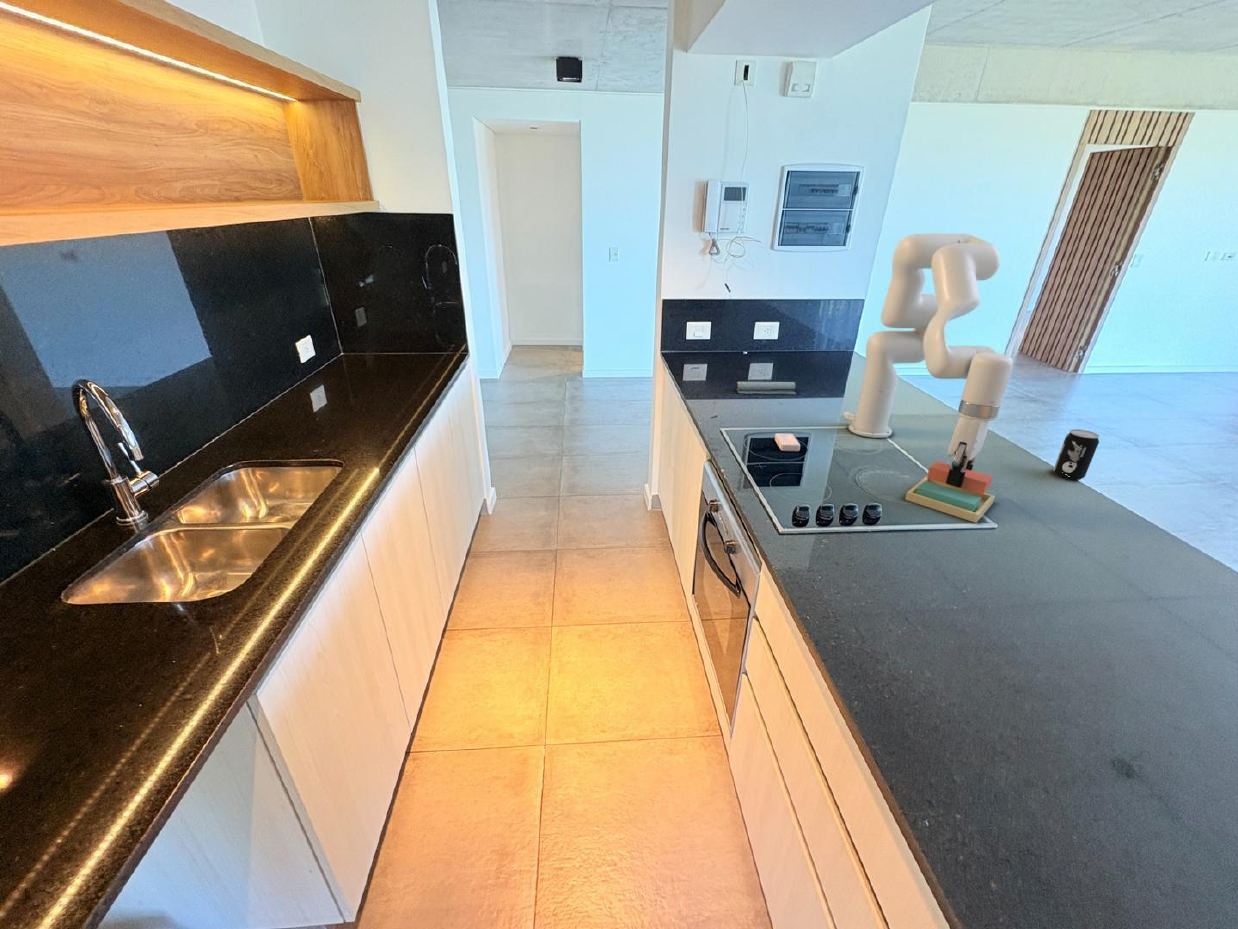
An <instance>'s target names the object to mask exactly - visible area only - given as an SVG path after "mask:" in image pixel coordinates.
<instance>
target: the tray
mask: <svg viewBox="0 0 1238 929" xmlns="http://www.w3.org/2000/svg"><path fill="white" fill-rule="evenodd" d="M924 481H928V482H931V483H934V484H938V485H941V486H944V487H948V488H951V489H954V490H958V491H961V492H964V493H968V494H971V495H975V496H978V497H981V499H980V502H979V505H978V508H977V509H976V511H975V512H972V511H969V510H966V509H962V508H959V507H956V506H953V505H950V504H947V503H944V502H940V501H937V500H934V499H931V498H928V497H925V496H922V495H918V494H916V491H917V487H918V486H919V485H921V484H922V483H923V482H924ZM995 497H996V496H995V495H994V494H990V493H987V492H985V493H984V494H980V493H977V492H973V491H970V490H966V489H963V488H958V487H955V486H951V485H948V484H946V483H942V482H939V481H935V480H932V479H929V478H927V475H926V476H924V478H922V479H921V480H920V481H918V482H917V483H916V484H915V485H914V486H913V487H912V488H911V489H909V490H908V491H907V492H906V494H905V499H904V500H906V501H908V502H912V503H914V504H918V505H921V506H924V507H927V508H930V509H933V510H935V511H939V512H942V513H945V514H948V515H950V516H953V517H957V518H959V519H963V520H966V521H969V522H972V523H975V524H976V523H978V521H979V520H980V519H981V518H982V517H983V515H985V513H986V512H987V511H988V510H989V508H990V507H991V506H992V505H993V503H994V501H995Z"/></svg>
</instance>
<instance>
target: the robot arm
mask: <svg viewBox="0 0 1238 929" xmlns="http://www.w3.org/2000/svg"><path fill="white" fill-rule="evenodd" d="M1000 263H1001V254H1000V252H999V250H998V248H997V247H996V245H994V244H992V243H991V242H989V241H987V240H985V239H981V238H979V237H977V236H974V235H972V234H968V233H935V232H934V233H914V234H910V235H906V236H904V237H903V238H901V239H900V240H899V242H898V243H897V244H896V246H895V249H894V251H893V254H892V264H891V267H892V268H891V270H892V272H891V277H890V282H889V286H888V288H887V292H886V296H885V299H884V302H883V306H882V310H881V314H880V321H881V324H882V325H883V326H885V327H887V328H890V329H912V330H880V331H877V332H874V333H873V334H871V335H870V336H869V337H868V339H867V341H866V344H865V345H866V346H865V366H864V367H865V368H864V374H863V380H862V383H861V384H862V385H861V388H860V394H859V400H858V406H857V410H856V413H852V412H847V411H845V412H844V413H843V420H844V421H849V422H850V423H849V424H848V430H849V431H850V432H851V433H853V434H855V435H858V436H861V437H866V438H871V439H872V438H873V439H884V438H887V437H888V438H889V437H891V435H892V433H893V429H892V428H891V427H889V422H890V417H891V412H892V409H893V408H892V407H893V403H894V401H895V400H894V399H895V395H896V390H897V386H898V380H899V377H898V373H897V371H896V370H895V368H894V365H896V364H918V363H922V362H924V361H925V366H926V369H927V371H928V373H929V374H930V376H932V377H933V378H935V379H940V380H955V379H956V380H957V379H958V380H965V384H964V387H963V390H962V394H961V397H960V402H959V406H958V409H957V414H958V415H959V418H958V420H957V422H956V426H955V428H954V430H953V435H952V437H951V440H950V443H949V446H948V450H947V452H946V455H947V457H953V459H952V461H951V464H950V465H951V467H950V470H949V473H948V477H947V480H946V484H948V485H951V486H955V487H958V488H960V487H961V486H962V483H963V480H964V477H965V473H966V472H964V471H965V469H968V470H971V471H973V468H974V463H975V460H976V456H978V454H979V453H980V452H981V451H982V449H983V447H984V443H985V440H986V437H987V434H988V430H989V428H990V423H991V422H992V421H995V420H997V418H998V415H999V411H1000V408H1001V406H1002V402H1003V398H1004V396H1005V393H1006V389H1007V386H1008V382H1009V379H1010V376H1011V373H1012V369H1013V366H1014V359H1013V358H1012V357H1011V356H1009V355H1007V354H1004V353H1000V352H997V351H996V350H995V349H994V348H992V347H991V346H987V345H948V344H947V338H946V328H947V324H948V322H950V321H953V320H955V319H958V318H960V317H961V318H962V317H963V316H965V315H967V314H969V313H971V312H973V311H974V310H976V309H977V308H978V306H979V305H980V303H981V296H980V291H979V285H978V281H987V280H989V279H991V278H992V277H994V276H995V275H996V273H997V272H998V270H999V268H1000ZM924 269H925V270H927V269H928V270H929V269H931V274H932V281H933V286H934V292H935V293H934V294H933V293H922V292H923V289H924V287H925V283H926V274H925V272H924V271H925V270H924Z"/></svg>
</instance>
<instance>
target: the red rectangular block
mask: <svg viewBox="0 0 1238 929" xmlns="http://www.w3.org/2000/svg"><path fill="white" fill-rule="evenodd" d="M950 467H951V464H950V463H945V462H941V461H935V462H934V463H933V464H931V465H930V466H929V467H928V471H927V475H926V476H927V478H929V479H932V480H935V481H939V482H942V483H946V480H947V477H948V473H949V470H950ZM964 472H966V473H965V477H964V480H963V483H962V486H961V487H960V488H963V489H966V490H970V491H973V492H977V493H980V494H984V493H987V491H988V490H989V489H990V486H991V483H992V480H993V475H989V474H985V473H983V472H979V471H975V470H972V471H971V470H968V469H965V471H964Z"/></svg>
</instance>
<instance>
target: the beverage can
mask: <svg viewBox="0 0 1238 929" xmlns="http://www.w3.org/2000/svg"><path fill="white" fill-rule="evenodd" d="M1099 437H1100V434H1098V433H1096V432H1094V431H1090V430H1086V429H1077V428H1076V429H1073V428H1072V429H1071V430H1069V432H1068V433H1067V434H1066V435H1065V438H1064V440H1063V443H1062V445H1061V448H1060V450H1059V453H1058V457H1057V458H1056V461H1055V463H1054V467H1055V468H1054V467H1053V470H1052V472H1054V475H1056V476H1058V477H1059V478H1062V479H1066V480H1069V481H1080V480H1083V479H1084V478H1085V477H1086V476H1087V473H1088V470H1089V467H1090V466H1091V463H1092V460H1093V458H1094V456H1095V453H1096V452H1097V449H1098V447H1099V443H1100V440H1099ZM1062 472H1063V473H1062ZM1065 474H1067V475H1068V476H1070V477H1068V476H1067V475H1065Z"/></svg>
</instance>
